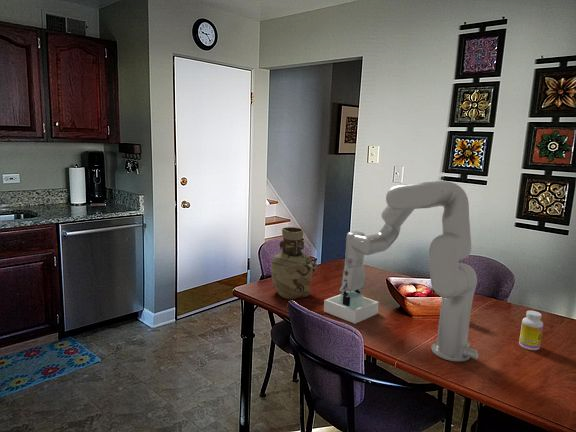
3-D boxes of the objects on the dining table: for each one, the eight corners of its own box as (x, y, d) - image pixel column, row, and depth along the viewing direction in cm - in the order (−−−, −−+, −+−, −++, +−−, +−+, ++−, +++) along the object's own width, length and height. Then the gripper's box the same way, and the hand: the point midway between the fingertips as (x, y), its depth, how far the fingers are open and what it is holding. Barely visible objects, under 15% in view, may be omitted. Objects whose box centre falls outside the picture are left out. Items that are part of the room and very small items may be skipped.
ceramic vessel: (314, 302, 190) (318, 236, 185) (267, 298, 192) (269, 232, 187) (316, 288, 209) (319, 227, 204) (273, 284, 211) (275, 224, 206)
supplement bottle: (539, 352, 152) (544, 318, 150) (518, 347, 155) (522, 313, 153) (540, 345, 158) (545, 312, 155) (519, 340, 161) (524, 307, 159)
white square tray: (377, 313, 181) (378, 302, 180) (354, 323, 170) (355, 311, 169) (347, 302, 192) (347, 291, 191) (323, 311, 181) (324, 300, 180)
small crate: (362, 306, 181) (362, 294, 180) (352, 310, 176) (353, 298, 175) (349, 301, 185) (350, 290, 184) (340, 305, 180) (340, 293, 180)
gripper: (348, 267, 168) (345, 311, 172) (374, 260, 181) (370, 301, 184) (333, 263, 174) (331, 305, 177) (359, 256, 186) (356, 296, 189)
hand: (351, 302), depth 180 cm, fingers closed on small crate, 6 cm apart
